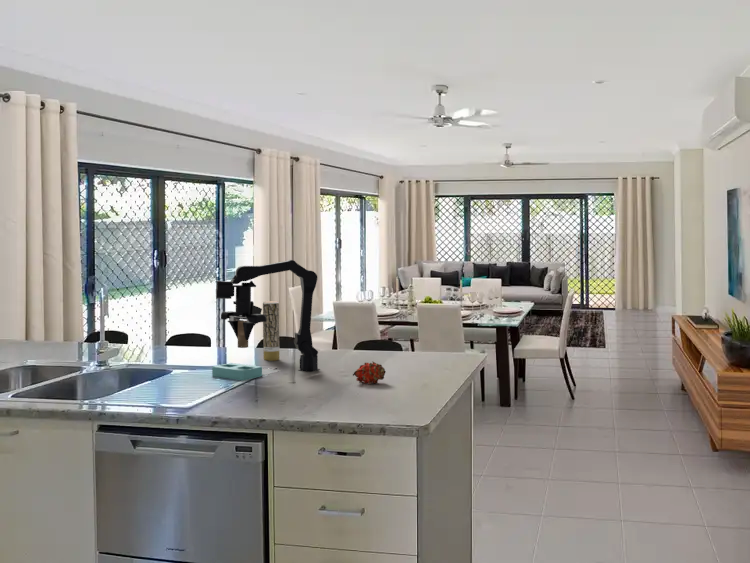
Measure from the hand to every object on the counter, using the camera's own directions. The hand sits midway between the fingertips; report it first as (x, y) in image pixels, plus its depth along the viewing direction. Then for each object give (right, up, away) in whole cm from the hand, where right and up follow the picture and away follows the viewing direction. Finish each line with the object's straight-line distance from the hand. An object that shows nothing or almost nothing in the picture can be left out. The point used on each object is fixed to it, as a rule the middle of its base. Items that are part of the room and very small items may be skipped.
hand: (242, 339), depth 287 cm
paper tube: (+6, -12, +34) cm, 37 cm away
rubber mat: (+7, -13, +5) cm, 16 cm away
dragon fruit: (+49, -15, -17) cm, 54 cm away
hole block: (-1, -14, -4) cm, 15 cm away
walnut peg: (0, -3, 0) cm, 3 cm away
